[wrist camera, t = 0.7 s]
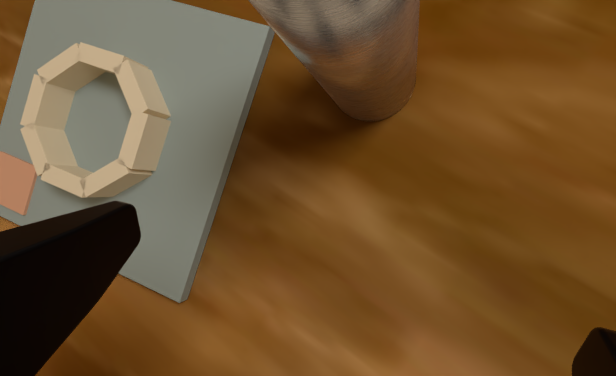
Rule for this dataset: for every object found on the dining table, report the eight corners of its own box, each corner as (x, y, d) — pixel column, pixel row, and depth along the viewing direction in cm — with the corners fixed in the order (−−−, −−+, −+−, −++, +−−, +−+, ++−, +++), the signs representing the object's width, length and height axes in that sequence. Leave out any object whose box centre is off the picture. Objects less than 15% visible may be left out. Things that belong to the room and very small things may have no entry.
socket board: (187, 299, 23) (157, 313, 20) (-10, 204, 27) (-57, 206, 24) (274, 32, 22) (255, 9, 19) (55, -27, 26) (13, -53, 23)
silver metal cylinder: (398, 132, 20) (373, 7, 6) (319, 107, 21) (154, -44, 8) (428, 48, 20) (467, -269, 6) (346, 27, 21) (225, -282, 7)
